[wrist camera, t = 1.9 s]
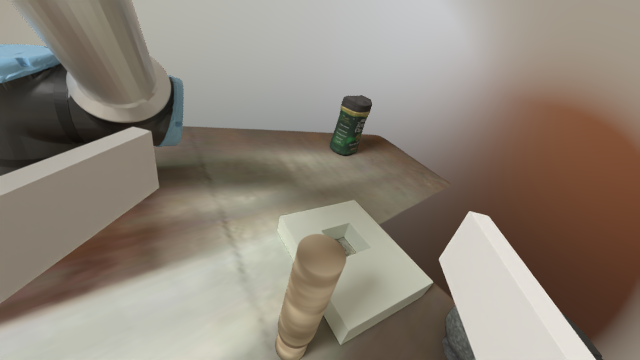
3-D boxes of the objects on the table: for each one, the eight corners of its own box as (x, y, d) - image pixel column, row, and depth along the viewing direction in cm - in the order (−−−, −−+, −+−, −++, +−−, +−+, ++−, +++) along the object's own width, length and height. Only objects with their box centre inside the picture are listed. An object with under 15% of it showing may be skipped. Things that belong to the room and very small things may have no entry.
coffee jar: (342, 158, 80) (360, 101, 70) (325, 147, 84) (339, 92, 74) (359, 152, 87) (378, 100, 77) (342, 142, 91) (358, 91, 81)
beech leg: (267, 335, 33) (288, 240, 23) (298, 320, 35) (329, 229, 26) (281, 372, 30) (312, 282, 20) (314, 353, 32) (356, 264, 22)
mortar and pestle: (483, 416, 31) (554, 377, 24) (419, 345, 36) (463, 298, 30) (509, 357, 38) (569, 315, 31) (452, 305, 43) (493, 260, 37)
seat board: (277, 231, 48) (279, 215, 46) (349, 213, 58) (354, 199, 56) (340, 345, 34) (348, 330, 31) (422, 295, 43) (433, 282, 41)
